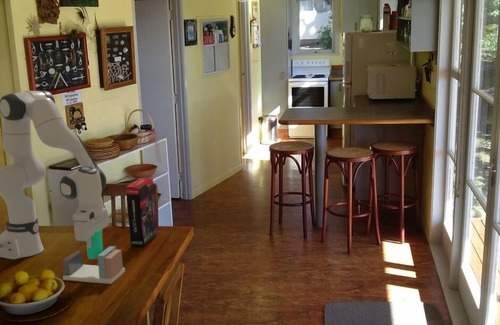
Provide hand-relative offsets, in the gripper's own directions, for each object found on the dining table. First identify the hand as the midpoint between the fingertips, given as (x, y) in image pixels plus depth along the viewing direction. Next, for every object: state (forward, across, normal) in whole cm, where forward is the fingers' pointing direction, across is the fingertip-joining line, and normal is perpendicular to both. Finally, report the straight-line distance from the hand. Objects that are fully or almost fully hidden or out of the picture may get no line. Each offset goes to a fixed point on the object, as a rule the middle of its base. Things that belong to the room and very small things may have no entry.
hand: (94, 244), depth 229 cm
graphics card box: (+13, -40, +2) cm, 42 cm away
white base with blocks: (+13, 0, -1) cm, 13 cm away
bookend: (+11, 0, -10) cm, 15 cm away
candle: (+5, 0, 0) cm, 5 cm away
